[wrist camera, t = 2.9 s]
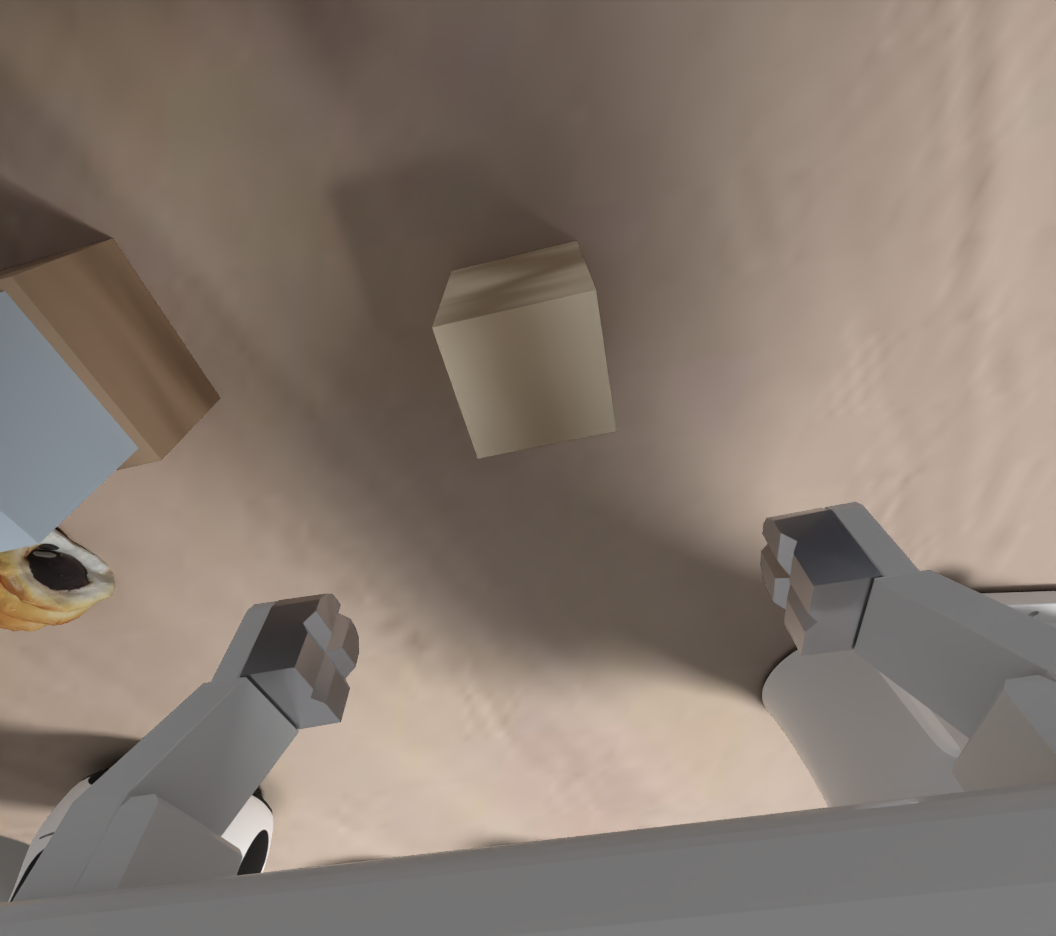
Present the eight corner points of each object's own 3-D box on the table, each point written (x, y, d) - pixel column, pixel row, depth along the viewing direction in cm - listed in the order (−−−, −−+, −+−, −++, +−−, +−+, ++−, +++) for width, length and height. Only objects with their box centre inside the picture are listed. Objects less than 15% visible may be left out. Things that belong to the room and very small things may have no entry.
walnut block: (115, 237, 19) (11, 276, 15) (221, 396, 24) (161, 460, 20) (-40, 281, 20) (-178, 329, 16) (88, 427, 24) (4, 495, 20)
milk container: (233, 838, 54) (130, 1111, 40) (51, 791, 47) (-156, 1106, 32) (321, 785, 47) (236, 1094, 33) (124, 720, 40) (-99, 1081, 25)
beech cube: (576, 240, 20) (595, 289, 15) (595, 358, 23) (616, 431, 18) (451, 270, 20) (431, 327, 16) (485, 381, 23) (477, 458, 18)
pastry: (21, 616, 33) (-31, 671, 30) (-89, 545, 29) (-162, 599, 26) (135, 576, 31) (92, 631, 28) (32, 495, 27) (-30, 547, 24)
